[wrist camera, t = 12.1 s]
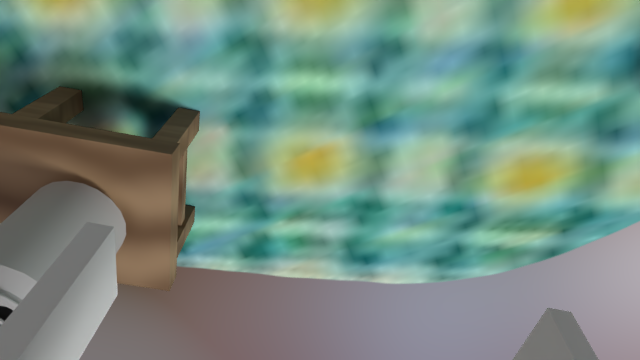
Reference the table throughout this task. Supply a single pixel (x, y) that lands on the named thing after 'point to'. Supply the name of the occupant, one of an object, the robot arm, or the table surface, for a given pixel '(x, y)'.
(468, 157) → the table surface
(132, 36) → the table surface
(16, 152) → the stool
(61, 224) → the can
